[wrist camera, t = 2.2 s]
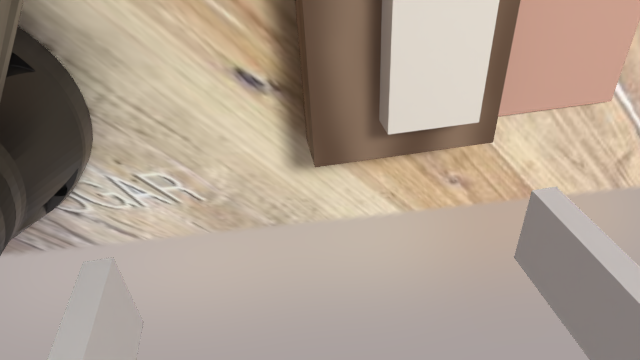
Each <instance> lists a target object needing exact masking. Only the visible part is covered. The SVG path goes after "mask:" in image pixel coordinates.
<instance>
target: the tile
mask: <svg viewBox="0 0 640 360" xmlns="http://www.w3.org/2000/svg"><path fill="white" fill-rule="evenodd" d="M498 6H499V0H382V22H381V65H380V108H379V121H380V122H381V124H382V126H383V127H384V129H385V131H386V132H387V134H388V135H389V134H396V133H404V132H411V131H419V130H426V129H434V128H441V127H448V126H456V125H463V124H471V123H478V122H479V119H480V113H481V107H482V101H483V95H484V89H485V83H486V77H487V72H488V66H489V60H490V54H491V48H492V42H493V36H494V30H495V24H496V18H497V12H498Z"/></svg>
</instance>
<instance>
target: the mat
mask: <svg viewBox="0 0 640 360" xmlns="http://www.w3.org/2000/svg"><path fill="white" fill-rule="evenodd" d="M639 20H640V0H521V1H520V6H519V11H518V16H517V21H516V27H515V32H514V37H513V42H512V47H511V52H510V57H509V63H508V68H507V73H506V78H505V83H504V88H503V93H502V98H501V104H500V109H499V114H498V116H503V115H510V114H518V113H525V112H533V111H540V110H548V109H555V108H563V107H570V106H578V105H585V104H593V103H600V102H608V101H611V100H612V97H613V94H614V91H615V88H616V85H617V83H618V80H619V77H620V74H621V71H622V68H623V65H624V63H625V60H626V57H627V54H628V51H629V48H630V45H631V43H632V40H633V37H634V34H635V31H636V28H637V25H638V23H639Z"/></svg>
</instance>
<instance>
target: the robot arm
mask: <svg viewBox="0 0 640 360" xmlns="http://www.w3.org/2000/svg"><path fill="white" fill-rule="evenodd" d="M22 4H23V0H0V255H1V254H2V252H3V250H4V249H5V247H6V245H7V244H8V242H9V241H10V240H11V239H12V238H14V237H15V236H17V235H18V234H19V233H21V232H22V231H24V230H25V229H26V228H28V227H29V226H30V225H32V224H33V223H35V222H36V221H37V220H39V219H40V218H42V217H43V216H45V215H46V214H47V213H49V212H50V211H52V210H53V209H54V208H56V207H57V206H58V205H59V204H60V203H61V202H63V201H64V200H65V199H66V197H67V196H68V195H69V194H70V193H71V192H72V190H73V189H74V187H75V186H76V184H77V182H78V181H79V179H80V177H81V175H82V173H83V171H84V169H85V166H86V164H87V162H88V159H89V156H90V153H91V148H92V124H91V119H90V115H89V111H88V108H87V105H86V103H85V100H84V98H83V96H82V94H81V92H80V90H79V88H78V86H77V85H76V83H75V82H74V80H73V79H72V77H71V76H70V74H69V73H68V72H67V70H66V69H65V68H64V67H63V66H62V64H61V63H60V62H59V61H58V60H57V59H56V58H55V57H54V56H53V55H52V54H51V53H50V52H49V51H48V50H47V49H46V48H45V47H44V46H42V45H41V44H40V43H39V42H38V41H36V40H35V39H34V38H32V37H31V36H30V35H29V34H27V33H26V32H24V31H23V30H21V29H20V28H18V27H17V26H18V22H19V17H20V13H21V9H22ZM514 258H515V259H516V261H517V262H518V263H519V265H520V266H521V268H522V269H523V270H524V272H525V273H526V274H527V276H528V277H529V278H530V280H531V281H532V282H533V284H534V285H535V286H536V288H537V289H538V290H539V292H540V293H541V295H542V296H543V297H544V299H545V300H546V301H547V302H548V304H549V305H550V307H551V308H552V309H553V311H554V312H555V313H556V315H557V316H558V318H559V319H560V320H561V322H562V323H563V324H564V326H565V327H566V328H567V329H568V331H569V332H570V334H571V335H572V337H573V338H574V339H575V341H576V342H577V343H578V345H579V346H580V347H581V349H582V350H583V351H584V353H585V354H586V355H587V357H588V358H589V359H590V360H640V267H639V266H638V265H637V264H636V263H635V262H634V261H633V260H632V259H631V258H630V257H629V256H628V255H627V254H626V253H625V252H624V251H623V250H622V249H621V248H620V247H619V246H618V245H616V244H615V243H614V242H613V241H612V240H611V239H610V238H609V237H608V236H607V235H606V234H605V233H604V232H603V231H602V230H601V229H600V228H599V227H598V226H597V225H596V224H595V223H594V222H593V221H592V220H591V219H589V218H588V217H587V216H586V215H585V214H584V213H583V212H582V211H581V210H580V209H579V208H578V207H577V206H576V205H575V204H574V203H573V202H572V201H571V200H570V199H569V198H568V197H567V196H566V195H565V194H563V193H562V192H561V191H560V190H559V189H558V188H557V187H551V188H544V189H538V190H532V192H531V196H530V200H529V204H528V208H527V211H526V215H525V219H524V223H523V226H522V230H521V234H520V237H519V241H518V245H517V249H516V253H515V256H514ZM142 328H143V320H142V318H141V316H140V314H139V312H138V309H137V307H136V305H135V303H134V301H133V299H132V297H131V295H130V292H129V290H128V288H127V286H126V284H125V282H124V279H123V277H122V275H121V273H120V271H119V269H118V266H117V264H116V262H115V260H114V258H106V259H100V260H93V261H87V262H83V264H82V267H81V270H80V273H79V275H78V278H77V281H76V283H75V286H74V289H73V291H72V294H71V297H70V300H69V302H68V305H67V308H66V311H65V313H64V316H63V318H62V321H61V324H60V326H59V329H58V332H57V335H56V337H55V340H54V343H53V345H52V348H51V351H50V354H49V356H48V359H47V360H136V359H137V354H138V349H139V344H140V337H141V333H142Z"/></svg>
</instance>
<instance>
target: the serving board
mask: <svg viewBox="0 0 640 360" xmlns="http://www.w3.org/2000/svg"><path fill="white" fill-rule="evenodd" d="M520 1H521V0H499V6H498V12H497V18H496V24H495V30H494V36H493V42H492V48H491V54H490V60H489V66H488V72H487V77H486V83H485V89H484V95H483V101H482V107H481V113H480V119H479V122H478V123H471V124H463V125H456V126H448V127H441V128H434V129H426V130H419V131H411V132H404V133H396V134H389V135H388V134H387V132H386V131H385V129H384V127H383V126H382V124H381V122H380V121H379V108H380V65H381V22H382V0H295V4H296V16H297V28H298V40H299V52H300V64H301V76H302V87H303V99H304V111H305V123H306V135H307V141H308V145H309V148H310V152H311V155H312V158H313V162H314V165H315V167H320V166H327V165H334V164H341V163H349V162H356V161H363V160H370V159H377V158H384V157H392V156H399V155H406V154H413V153H420V152H427V151H435V150H442V149H449V148H456V147H463V146H470V145H477V144H485V143H492V142H493V139H494V134H495V129H496V124H497V119H498V114H499V109H500V104H501V98H502V93H503V88H504V83H505V78H506V73H507V68H508V63H509V57H510V52H511V47H512V42H513V37H514V32H515V27H516V21H517V16H518V11H519V6H520Z"/></svg>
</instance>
